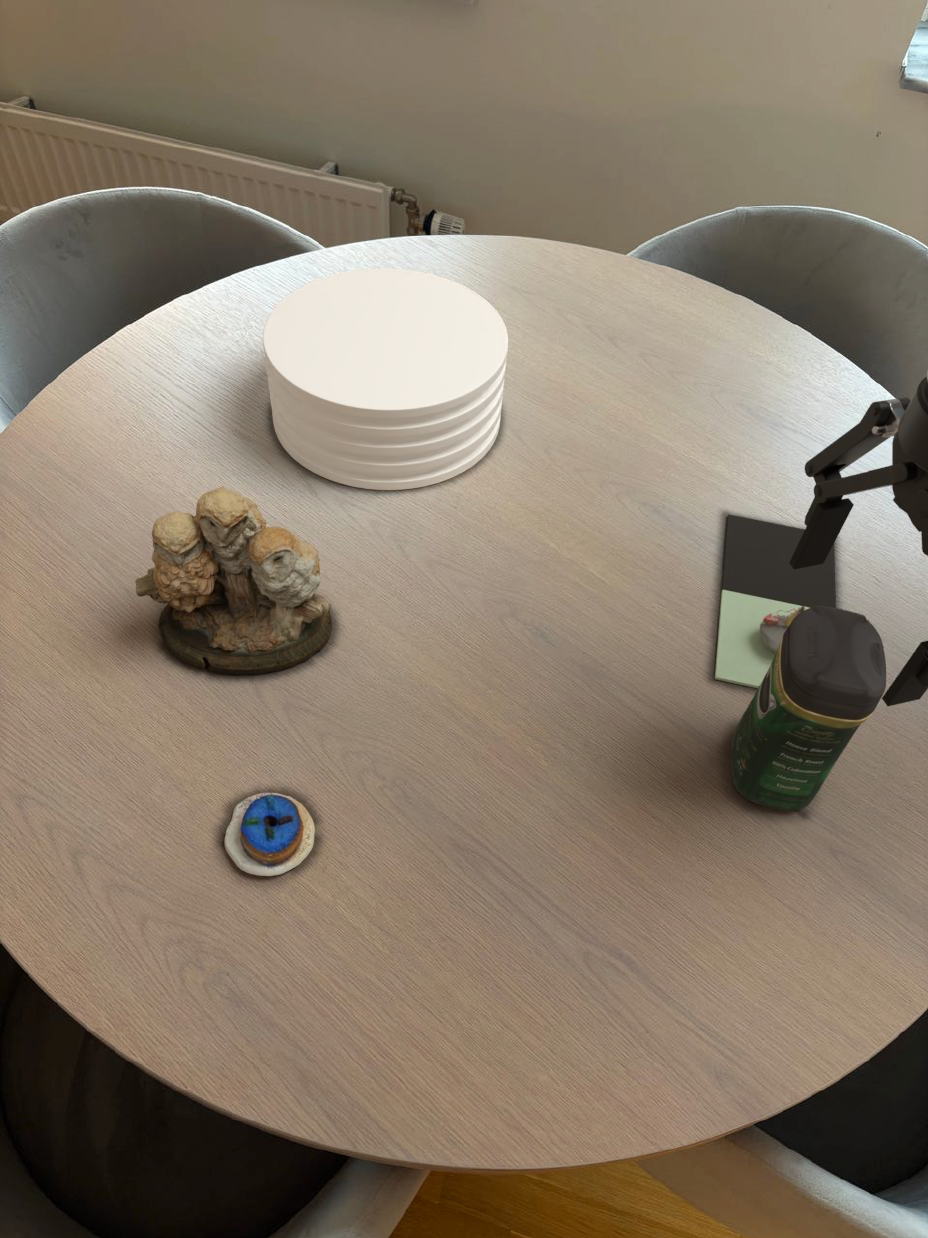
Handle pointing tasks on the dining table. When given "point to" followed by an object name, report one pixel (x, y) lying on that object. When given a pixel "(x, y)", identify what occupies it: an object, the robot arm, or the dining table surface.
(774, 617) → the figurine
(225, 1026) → the dining table surface
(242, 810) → the dessert
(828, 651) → the coffee jar
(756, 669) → the sorting mat
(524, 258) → the dining table surface
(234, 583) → the owl figurine
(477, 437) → the plate stack
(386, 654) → the dining table surface
